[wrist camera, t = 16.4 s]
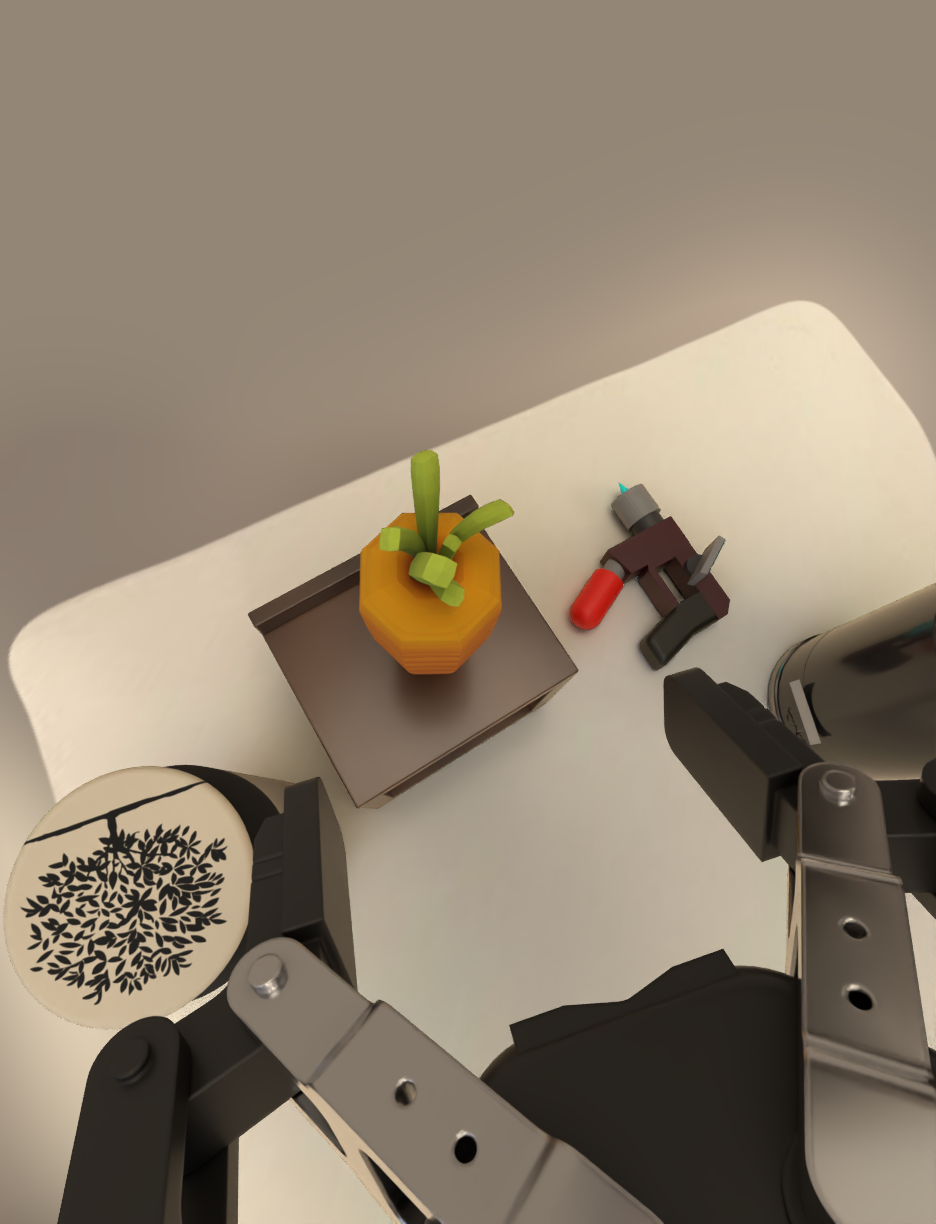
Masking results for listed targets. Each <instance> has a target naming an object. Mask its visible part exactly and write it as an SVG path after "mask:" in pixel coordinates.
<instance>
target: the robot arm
mask: <svg viewBox="0 0 936 1224" xmlns="http://www.w3.org/2000/svg"><path fill="white" fill-rule="evenodd" d="M768 700H769V709H770V711H769V710H768V709H764V706H763V705H762V704H761V703H760V702H759V701H758V700H756V699H755V698H754V697H753V696H752V695H751V694H750V693H749V692H747V691H745V690H743V689H741V688H738V687H736V686H734V685H732V684H730V683H727V682H724V683H721V684H716V683H715V682H714V681H713V680H712V679H711V678H710V677H709V676H708V675H707V674H706V673H705V672H704V671H703V670H701V669H700V668H697V667H696V668H692V669H689V670H685V671H682V672H678V673H675V674H672V675H668V676H666V677H665V679H664V726H665V733H666V737H667V740H668V743H669V745H670V747H671V749H672V751H673V753H674V754H675V755H676V757H677V758H678V759H679V760H680V761H681V763H682V764H683V765H684V766H685V768H686V769H687V770H688V771H689V773H690V774H691V775H692V776H693V778H694V779H695V780H696V781H697V782H698V784H699V785H700V786H701V787H702V789H703V790H704V791H705V792H706V794H707V795H708V796H709V797H710V799H711V800H712V801H713V802H714V804H715V805H716V806H717V807H718V808H719V810H720V811H721V812H722V813H723V815H724V816H725V817H726V818H727V820H728V821H729V822H730V823H731V825H732V826H733V827H734V828H735V830H736V831H737V832H738V833H739V834H740V836H741V837H742V838H743V839H744V841H745V842H746V843H747V844H748V846H749V847H750V848H751V849H752V851H753V852H754V853H755V854H756V856H757V857H758V858H759V859H760V860H761V862H764V861H766V860H769V859H772V858H775V857H778V856H782V858H783V859H784V860H785V861H786V862H787V864H788V874H787V935H786V966H785V973H782V972H778V971H775V970H771V969H767V968H761V967H755V966H734V965H733V963H732V962H731V960H730V959H729V957H728V956H727V954H726V952H725V951H724V949H721V950H718V951H716V952H713V953H710V954H707V955H704V956H701V957H699V958H696V959H693V960H690V961H687V962H685V963H682V964H679V965H676V966H673V967H672V968H670V969H669V970H667V971H666V972H665V973H663V974H662V975H661V976H659V977H658V978H657V979H655V980H654V981H653V982H651V983H650V984H648V985H647V986H646V987H644V988H643V989H642V990H640V991H639V992H638V993H636V994H635V995H634V996H632V997H631V998H629V999H627V1000H625V1001H620V1002H608V1003H594V1004H580V1005H566V1006H561V1007H559V1008H556V1009H553V1010H550V1011H547V1012H545V1013H542V1014H539V1015H536V1016H533V1017H531V1018H528V1019H525V1020H522V1021H519V1022H516V1023H514V1024H511V1025H509V1026H510V1030H511V1034H512V1038H513V1042H514V1044H512V1045H511V1046H510V1047H508V1048H507V1049H506V1050H504V1051H503V1052H502V1053H501V1054H500V1055H499V1056H498V1057H497V1058H496V1059H495V1060H494V1061H492V1063H491V1064H490V1065H489V1066H488V1068H487V1069H486V1070H485V1071H484V1072H483V1074H482V1075H481V1077H480V1078H478V1077H476V1076H475V1075H474V1074H473V1073H472V1072H470V1071H469V1070H468V1069H467V1068H465V1067H464V1066H463V1065H462V1064H461V1063H459V1062H458V1061H457V1060H456V1059H455V1058H453V1057H452V1056H451V1055H450V1054H449V1053H447V1052H446V1051H445V1050H444V1049H443V1048H441V1047H440V1046H439V1045H438V1044H436V1043H435V1042H434V1041H433V1040H432V1039H430V1038H429V1037H428V1036H427V1035H426V1034H424V1033H423V1032H422V1031H421V1030H420V1029H418V1028H417V1027H416V1026H415V1025H414V1024H412V1023H411V1022H410V1021H409V1020H407V1019H406V1018H405V1017H404V1016H403V1015H401V1014H400V1013H399V1012H398V1011H397V1010H395V1009H394V1008H393V1007H392V1006H390V1005H389V1004H387V1003H386V1002H384V1001H381V1000H377V1001H376V1002H375V1003H371V1002H370V1001H368V1000H367V999H366V998H364V997H363V996H362V995H361V994H360V993H359V992H358V990H357V979H356V967H355V956H354V945H353V933H352V922H351V911H350V900H349V888H348V877H347V866H346V855H345V848H344V843H343V838H342V834H341V831H340V827H339V824H338V822H337V819H336V817H335V814H334V811H333V809H332V806H331V803H330V801H329V798H328V795H327V793H326V790H325V787H324V785H323V782H322V780H321V778H320V777H317V778H313V779H310V780H306V781H303V782H300V783H296V784H293V785H289V786H286V787H285V789H284V813H281V814H277V815H274V816H271V817H267V818H265V820H264V822H263V824H262V826H261V827H260V829H259V831H258V833H257V835H256V837H255V839H254V848H253V865H252V875H251V879H252V883H251V889H250V902H249V916H248V929H247V943H246V951H245V955H244V956H243V957H242V958H241V959H240V961H239V962H238V963H237V965H236V966H235V968H234V970H233V971H232V973H231V976H230V978H229V981H228V985H227V986H226V987H225V988H224V990H223V991H221V992H220V993H219V994H218V995H217V996H216V997H214V998H213V999H212V1000H210V1001H209V1002H207V1003H206V1004H204V1005H203V1006H201V1007H200V1008H198V1009H197V1010H195V1011H194V1012H192V1013H191V1014H189V1015H188V1016H186V1017H184V1018H183V1019H181V1020H180V1021H178V1022H177V1023H175V1024H174V1023H173V1022H172V1021H171V1020H169V1019H168V1018H166V1017H162V1016H150V1017H145V1018H142V1019H139V1020H137V1021H135V1022H133V1023H131V1024H129V1025H128V1026H126V1027H124V1028H123V1029H122V1030H121V1031H119V1032H118V1033H117V1034H116V1035H115V1036H114V1037H113V1038H111V1039H110V1041H109V1042H108V1043H107V1044H106V1045H105V1046H104V1047H103V1049H102V1050H101V1052H100V1053H99V1054H98V1056H97V1058H96V1059H95V1061H94V1063H93V1065H92V1067H91V1070H90V1072H89V1075H88V1079H87V1083H86V1088H85V1092H84V1097H83V1102H82V1107H81V1112H80V1117H79V1121H78V1126H77V1131H76V1136H75V1141H74V1146H73V1150H72V1155H71V1160H70V1165H69V1170H68V1174H67V1179H66V1184H65V1189H64V1194H63V1199H62V1204H61V1208H60V1213H59V1218H58V1223H57V1224H238V1155H239V1137H240V1136H241V1135H242V1134H244V1133H245V1132H246V1131H248V1130H249V1129H250V1128H252V1127H253V1126H254V1125H256V1124H257V1123H258V1122H260V1121H261V1120H262V1119H264V1118H265V1117H266V1116H268V1115H269V1114H270V1113H272V1112H273V1111H274V1110H276V1109H277V1108H278V1107H279V1106H281V1105H282V1104H283V1103H285V1102H286V1101H287V1100H290V1101H291V1102H292V1103H293V1105H294V1106H295V1107H296V1108H297V1109H298V1110H299V1111H300V1112H301V1113H302V1115H303V1116H304V1117H305V1118H306V1119H307V1120H308V1121H309V1122H310V1123H311V1125H312V1126H313V1127H314V1128H315V1129H316V1130H317V1131H318V1132H319V1133H320V1135H321V1136H322V1137H323V1138H324V1139H325V1140H326V1141H327V1142H328V1144H329V1145H330V1146H331V1147H332V1148H333V1149H334V1150H335V1151H336V1152H337V1154H338V1155H339V1156H340V1157H341V1158H342V1159H343V1160H344V1161H345V1162H346V1164H347V1165H348V1166H349V1167H350V1168H351V1169H352V1171H353V1172H354V1173H355V1174H356V1176H357V1177H358V1178H359V1179H360V1181H361V1182H362V1183H363V1185H364V1186H365V1188H366V1189H367V1190H368V1192H369V1193H370V1194H371V1195H372V1197H373V1198H374V1199H375V1200H376V1202H377V1203H378V1204H379V1205H380V1207H381V1208H382V1209H383V1210H384V1211H385V1212H386V1214H387V1215H388V1216H389V1217H390V1218H391V1219H392V1220H393V1221H394V1223H395V1224H936V1051H935V1050H934V1049H932V1048H930V1047H928V1044H927V1037H926V1031H925V1024H924V1018H923V1011H922V1004H921V998H920V991H919V985H918V978H917V972H916V965H915V958H914V952H913V945H912V939H911V932H910V925H909V919H908V912H907V906H906V899H905V893H912V894H913V895H914V897H915V898H916V899H917V900H918V901H919V902H920V903H921V904H922V905H923V906H924V907H925V908H926V909H927V911H928V912H929V913H930V914H931V915H932V916H933V917H934V918H935V919H936V583H934V584H932V585H930V586H927V587H925V588H923V589H921V590H919V591H916V592H914V593H912V594H910V595H907V596H905V597H903V598H901V599H899V600H896V601H894V602H892V603H890V604H888V605H885V606H883V607H881V608H879V609H877V610H874V611H872V612H870V613H868V614H866V615H863V616H861V617H859V618H857V619H854V620H852V621H850V622H848V623H846V624H843V625H841V626H838V627H836V628H834V629H832V630H829V631H827V632H825V633H823V634H819V635H816V636H813V637H810V638H808V639H806V640H804V641H802V642H799V643H798V644H796V645H794V646H793V647H792V648H790V649H789V650H788V651H787V652H786V653H785V654H784V655H783V656H782V657H781V658H780V660H779V661H778V663H777V664H776V666H775V668H774V671H773V673H772V676H771V680H770V684H769V693H768ZM918 778H920V779H918ZM903 779H908V780H903Z"/></svg>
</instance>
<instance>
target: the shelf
mask: <svg viewBox="0 0 936 1224" xmlns="http://www.w3.org/2000/svg"><path fill="white" fill-rule="evenodd" d="M478 507H479V506H478V504H477V503H476V501H475V500H474V498H473V497H472V496H471V495H469V496H467V497H465V498H463V499H461V500H459V501H457V502H456V503H454V504H452V505H450V506H448V507H446V508H444V509H442V510H441V511H439V513H458V514H459V515H460V516H461V517H462V518H466V517H467V516H468V515H470V514H471V513H472V512H474V511H475V510H477V509H478ZM479 533H481V534H482V535H483V536H484V537H485V538H486V539H487V540H488V541H490V542H491V543H492V544H493V545H494V543H493V542H492V540H491V539H490V537H489V536H488V534H487V533H486V531H485V530H484V529H483V530H482V531H480V532H479ZM494 546H495V545H494ZM495 547H496V546H495ZM499 556H500V578H501V599H502V611H501V613H500V615H499V618H498V620H497V622H496V625H495V627H494V628H493V630H492V632H491V634H490V636H489V637H488V639H487V640H486V641H485V642H484V643H483V644H482V645H481V646H480V647H479V648H478V649H477V650H476V651H475V652H474V653H473V654H472V655H471V656H470V657H469V658H468V659H467V660H466V661H465V662H464V663H463V664H462V665H461V666H460V667H459V668H458V669H457V670H456V671H455V672H453V673H451V674H411V673H409V672H408V671H407V670H406V669H405V668H404V667H402V666H401V665H400V664H399V663H398V662H397V661H396V660H395V659H394V658H393V657H392V656H391V655H390V654H389V653H388V652H387V651H386V650H385V649H384V648H383V647H382V646H381V645H380V644H379V643H377V642H376V641H375V640H374V638H373V636H372V635H371V633H370V631H369V630H368V628H367V626H366V624H365V622H364V620H363V618H362V616H361V614H360V612H359V597H360V554H358V555H356V556H354V557H353V558H351V559H349V560H347V561H345V562H343V563H341V564H340V565H338V566H336V567H334V568H332V569H330V570H328V571H326V572H325V573H323V574H321V575H319V576H317V577H315V578H313V579H311V580H310V581H308V582H306V583H304V584H302V585H300V586H298V587H296V588H295V589H293V590H291V591H289V592H287V593H285V594H283V595H281V596H280V597H278V598H276V599H274V600H272V601H270V602H268V603H267V604H265V605H263V606H261V607H259V608H257V609H255V610H253V611H252V612H250V613H248V616H249V618H250V620H251V621H252V623H253V625H254V627H255V628H256V629H257V630H258V631H259V632H260V633H261V634H262V635H263V637H264V639H265V641H266V642H267V644H268V646H269V648H270V650H271V652H272V653H273V655H274V657H275V659H276V661H277V663H278V665H279V666H280V668H281V670H282V672H283V674H284V676H285V677H286V679H287V681H288V683H289V685H290V687H291V688H292V690H293V692H294V694H295V696H296V698H297V699H298V701H299V703H300V705H301V707H302V709H303V710H304V712H305V714H306V716H307V718H308V720H309V721H310V723H311V725H312V727H313V729H314V731H315V732H316V734H317V736H318V738H319V740H320V742H321V743H322V745H323V747H324V749H325V751H326V753H327V755H328V756H329V758H330V760H331V762H332V764H333V766H334V767H335V769H336V771H337V773H338V775H339V777H340V778H341V780H342V782H343V784H344V786H345V788H346V789H347V791H348V793H349V795H350V797H351V799H352V800H353V802H354V804H355V806H356V808H366V809H378V808H379V807H381V806H383V805H384V804H386V803H387V802H389V801H391V800H392V799H394V798H395V797H397V796H399V795H400V794H402V793H403V792H405V791H407V790H408V789H410V788H411V787H413V786H415V785H416V784H418V783H419V782H421V781H423V780H424V779H426V778H427V777H429V776H431V775H432V774H434V773H435V772H437V771H439V770H440V769H442V768H443V767H445V766H447V765H448V764H450V763H451V762H453V761H455V760H456V759H458V758H459V757H461V756H463V755H464V754H466V753H467V752H469V751H471V750H472V749H474V748H475V747H477V746H479V745H480V744H482V743H483V742H485V741H487V740H488V739H490V738H491V737H493V736H495V735H496V734H498V733H499V732H501V731H503V730H504V729H506V728H507V727H509V726H511V725H512V724H514V723H515V722H517V721H519V720H520V719H522V718H523V717H525V716H527V715H528V714H530V713H531V712H533V711H535V710H536V709H538V708H539V707H541V706H543V705H544V704H545V703H546V702H547V701H548V700H549V699H551V698H552V697H553V696H554V695H555V694H556V693H557V692H558V691H559V690H560V689H561V688H562V687H563V686H564V685H565V684H566V683H567V682H568V681H569V680H570V679H571V678H572V677H573V676H574V675H575V674H576V673H577V672H578V669H577V667H576V666H575V664H574V663H573V661H572V660H571V658H570V657H569V655H568V654H567V652H566V651H565V649H564V648H563V646H562V645H561V643H560V642H559V640H558V639H557V637H556V636H555V634H554V633H553V631H552V630H551V628H550V627H549V625H548V624H547V622H546V621H545V619H544V618H543V616H542V615H541V613H540V612H539V610H538V609H537V607H536V606H535V604H534V603H533V601H532V600H531V598H530V597H529V595H528V594H527V592H526V591H525V589H524V588H523V586H522V585H521V583H520V582H519V580H518V579H517V577H516V576H515V575H514V573H513V572H512V570H511V569H510V567H509V566H508V564H507V563H506V561H505V560H504V558H503V557H502V555H501V554H500V552H499Z"/></svg>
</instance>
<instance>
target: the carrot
mask: <svg viewBox="0 0 936 1224" xmlns="http://www.w3.org/2000/svg"><path fill="white" fill-rule="evenodd" d="M411 478H412V489H413V498H414V507H415V513H402V514H401V515H400V516H399V517H397V518H396V519H395V520H394V521H393V522H392V523H391V524H390V525H389V526H388V527H386V528H382V530H381V533H380V534H379V535H378V536H377V537H375V538H374V539H373V540H372V541H371V542H370V543H369V544H368V545H367V546H366V547H364V548H363V549H362V551H361V553H360V597H359V612H360V614H361V616H362V618H363V620H364V622H365V624H366V626H367V628H368V630H369V631H370V633H371V635H372V636H373V638H374V640H375V641H376V642H377V643H379V644H380V645H381V646H382V647H383V648H384V649H385V650H386V651H387V652H388V653H389V654H390V655H391V656H392V657H393V658H394V659H395V660H396V661H397V662H398V663H399V664H400V665H401V666H402V667H404V668H405V669H406V670H407V671H408V672H409V673H411V674H451V673H453V672H455V671H456V670H457V669H458V668H459V667H460V666H461V665H462V664H463V663H464V662H465V661H466V660H467V659H468V658H469V657H470V656H471V655H472V654H473V653H474V652H475V651H476V650H477V649H478V648H479V647H480V646H481V645H482V644H483V643H484V642H485V641H486V640H487V639H488V637H489V636H490V634H491V632H492V630H493V628H494V627H495V625H496V622H497V620H498V618H499V615H500V613H501V611H502V599H501V578H500V556H499V550H498V549H497V548H496V547H495V546H494V545H493V544H492V543H491V542H490V541H488V540H487V539H486V538H485V537H484V536H483V535H482V534H481V533H479V532H480V531H482V530H483V529H485V528H487V527H489V526H492V525H494V524H496V523H498V522H501V521H503V520H505V519H507V518H509V517H511V516H513V514H514V511H513V509H512V508H511V506H510V505H509V504H507V503H506V502H504V501H502V500H501V499H499V500H497V501H494V502H491V503H488V504H486V505H484V506H483V507H481V508H479V509H477V510H475V511H474V512H472V513H471V514H470V515H468V516H467V517H466V518H462V517H461V516H460V515H459V514H458V513H439V494H440V468H439V460H438V454H436V453H435V452H433V451H431V450H424V451H422V452H419V453H417V454H416V455H415V456H413V457H412V458H411Z"/></svg>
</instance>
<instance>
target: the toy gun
mask: <svg viewBox="0 0 936 1224" xmlns="http://www.w3.org/2000/svg"><path fill="white" fill-rule="evenodd" d="M619 486H620V489H621V493H622V494H621V495H620V496H619V497H618V498H617V499H616V500H615V501H614V502H613V503H612V505H611V506H612V508H613V509H614V511H615V512H616V514H617V515H618V517H619V518H620V519H621V521H622V522H623V524H624V525H625V527H626V528H627V530H628V531H629V532H631V531H632V532H633V533H634V535H635V536H633V537H631V538H629V539H627V540H625V541H623V542H622V543H620V544H618V545H616V546H614V547H612V548H610V549H609V550H607V552H606V553H605V555H604V556H603V558H602V559H601V561H600V563H601V564H603V565H604V567H603V568H602V569H601V568H600V569H596V570H595V572H594V573H593V575H592V576H591V578H590V579H589V581H588V582H587V584H586V585H585V587H584V588H583V590H582V591H581V593H580V594H579V596H578V597H577V599H576V600H575V602H574V603H573V605H572V606H571V609H570V618H571V620H572V622H573V623H574V624H575V625H576V626H577V627H579V628H581V629H586V630H588V629H593V628H595V627H596V626H598V625H599V624H600V622H601V621H602V619H603V617H604V616H605V614H606V613H607V611H608V610H609V608H610V607H611V605H612V604H613V602H614V600H615V599H616V597H617V596H618V594H619V593H620V591H621V590H622V588H623V584H624V583H626V582H628V581H630V580H631V579H633V578H635V577H637V576H638V578H639V583H640V584H641V586H642V587H643V589H644V590H645V592H646V593H647V595H648V596H649V598H650V599H651V600H652V602H653V603H654V605H655V606H656V608H657V609H658V611H659V612H660V614H661V615H662V617H664V618H663V619H662V620H661V621H660V622H659V623H658V624H657V625H656V626H655V627H654V628H653V629H652V630H651V631H650V632H649V633H648V634H647V635H646V637H645V638H644V639H643V640H642V641H641V642H640V644H639V648H640V650H641V652H642V653H643V655H644V656H645V658H646V659H647V661H648V662H649V664H650V665H651V667H652V668H653V669H655V670H658V669H660V668H662V667H663V666H665V665H666V664H667V663H668V662H669V661H670V660H671V659H672V658H673V657H674V656H675V655H676V654H677V653H678V651H679V650H680V649H681V648H682V647H683V646H684V645H685V644H686V643H687V642H688V641H689V640H690V639H691V637H692V636H693V635H695V634H696V633H698V632H700V631H702V630H703V629H705V628H707V627H709V626H710V625H712V624H714V623H715V622H717V621H718V620H720V619H721V618H723V617H724V616H726V615H727V614H728V609H729V602H730V599H729V598H728V596H727V595H726V594H725V592H724V591H723V589H722V588H721V587H720V585H719V584H718V582H717V581H716V580H715V578H714V577H713V575H712V574H711V573H710V570H711V567H712V566H713V564H714V562H715V560H716V558H717V556H718V554H719V552H720V550H721V548H722V546H723V544H724V542H725V539H724V538H723V537H721V536H718V537H717V538H716V539H715V540H714V541H713V542H712V543H711V544H710V545H709V546H708V547H707V548H706V549H705V551H704V552H703V554H702V555H698V554H697V553H696V552H695V550H694V549H693V547H692V546H691V544H690V543H689V541H688V540H687V538H686V537H685V535H684V534H683V532H682V531H681V530H680V528H679V527H678V525H677V524H676V523H675V521H674V520H673V518H672V517H671V516H670V517H668V518H666V519H663V518H662V517H661V515H660V514H659V512H660V511H661V510H660V508H659V507H658V505H657V504H656V502H655V501H654V500H653V498H652V497H651V495H650V494H649V493H648V491H647V490H646V488H645V487H644V485H643V484H639V485H636V486H634V487H632V488H630V489H627V488H626V487H624V486H623V485H622V484H620V483H619ZM664 568H665V570H666V571H667V573H668V574H669V576H670V577H671V579H672V580H673V581H674V583H675V584H676V586H677V587H678V589H679V590H680V592H681V593H682V594H683V596H684V597H685V599H686V600H684V601H683V602H681V603H679V604H678V601H677V600H676V599H675V597H674V596H673V594H672V593H671V591H670V590H669V588H668V587H667V585H666V584H665V583H664V581H663V580H662V578H661V577H660V575H659V574H658V572H659V571H660V570H662V569H664Z"/></svg>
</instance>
